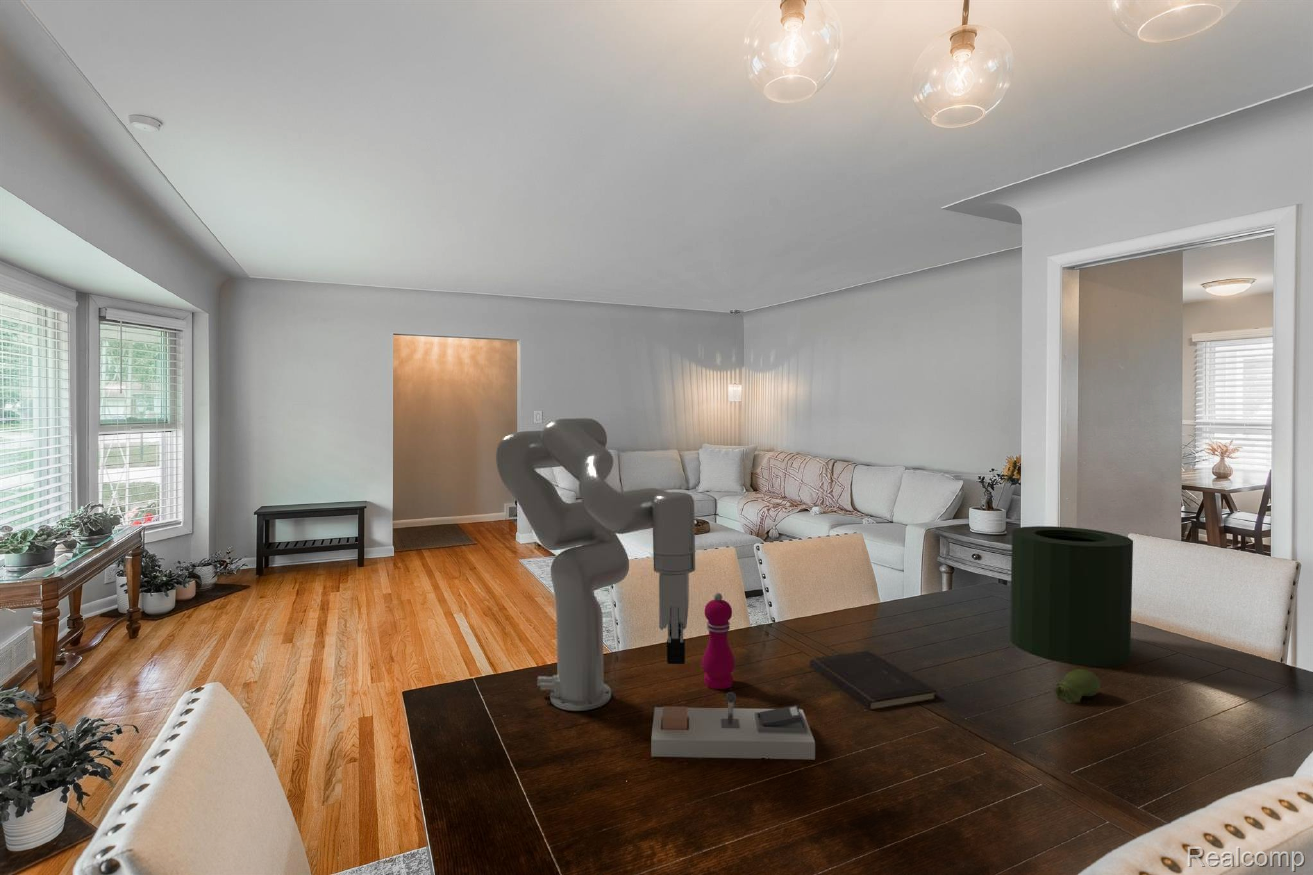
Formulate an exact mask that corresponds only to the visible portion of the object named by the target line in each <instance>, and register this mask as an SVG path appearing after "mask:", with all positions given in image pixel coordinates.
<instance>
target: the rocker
mask: <svg viewBox="0 0 1313 875" xmlns="http://www.w3.org/2000/svg"><path fill="white" fill-rule="evenodd" d="M772 709H773V710H768V711H763V712H759V713H760V717H761V722H762V726H763V727H778V726H784V725H789V724H794V723H799V722H802V718H801V715H800V712H799V709H800V708H799V707H798V705H797V704H796V705H790V706H785V707H778V708H772Z"/></svg>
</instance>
